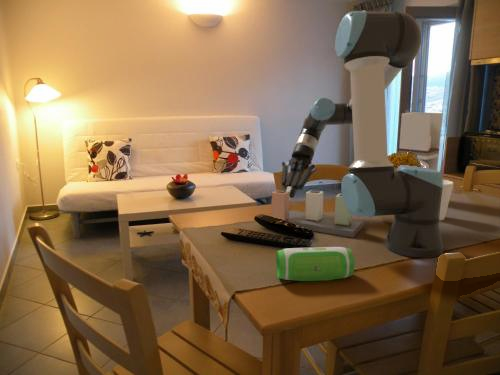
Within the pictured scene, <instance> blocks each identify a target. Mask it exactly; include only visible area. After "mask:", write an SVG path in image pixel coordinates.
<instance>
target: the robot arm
mask: <svg viewBox="0 0 500 375" xmlns="http://www.w3.org/2000/svg"><path fill="white" fill-rule="evenodd" d="M335 35H336V36H335V41H334V51H335V53H336V57H338V58H340V59H341V60H342V59H343V64H344V69H346V70H347V71H348V72H350V91H351V92H350V94H351V95H350V96H351V98H350V100H349V101H348V102H347V103H345V102H344V103H341V102H340V103H338V102H337V103H334V101H333V100H332V99H330V98H327V97H320V98H318V99H316V100H315V102H314V103H313V104H312V107H311V108H310V110H309V113H308V114H307V115H306V117H305V119H304V121H303V123H302V124H303V125H302V127H301V130H300V132H299V135H298V138H297V140H296V142H295V145H294V148H293V150H292V152H291V157H290V158H289V160H288V161H282V162H281V166H282V172H281V179H280V180H281V182H280V184H281V186H282V187H283V190H284V191H289V204H290V203H291V200H292V199H293V198H294V197H295V195H296V193H297V191H298V190H300V191H302V190H304V189H303V188H304V187H305V185H306V184H307V182H308V181H309V179H310V178H311V176H312V174H314V173H315V172H316V171H317V168H316V165H315V164H312V161H313V158H314V155H315V152H316V149H317V146H318V143H319V142H320V141H319V140H320V139H321V136H322V133H323V131H324V130H325V129H326V127H327V126H335V125H336V126H337V125H340V126H341V125H352V134H353V135H352V137H353V139H352V140H353V158H354V159H353V162H352V163H351V164H350V165H349V166H348V173H347V174H345V175H344V176H343V177H342V180H341V184H340V185H341V186H340V187H341V188H340V190H341V191H340V192H341V193H342V197H343V200H344V203H345V205H346V207H347V209H348V210H349V212H350V213H351V214H352V216H355V217H357V218H363V217H367V218H373V217H380V216H393V221H392V223H391V225H390V227H389V230H388V233H387V234H386V236H385V247H386V248H387V249H388V250H390V251H391V252H393V253H395V254H398V255H402V256H405V257H411V258H418V259H419V258H422V259H424V258H425V259H427V258H435V257H438V256H440V254H441V255H442V254H443V252H444V241H443V236H442V231H441V228H440V220H439V216H440V206H441V196H442V189H443V180H444V176H443V174H442V172H440V171H438V170H437V171H436V170H433V169H429V168H423V167H417V166H409V165H400V166H399V165H398V166H397V168H396V171H395V164H393V162H391V161H390V160H389V159H388V157H389V156H388V134H387V132H388V131H387V113H386V112H387V110H386V109H387V108H386V89H387V88H388V87H389V86H390V84H392V82H393V80H394V79H395V78H396V77H397V76H398V74H399V73H400V72H401V70H404V69H407V68H408V67H409V66H410V65H411V64H412V62H414V60H415V59H416V56H417V55H418V53H419V50H420V48H421V45H422V31H421V28H420V26H419V24H418V22H417V21H416V19H415V18H414V17H413V16H412V15H411V14H408V13H406V12H403V11H374V10H373V11H371V10H365V9H363V10H353V11H349V12H347V13H346V14H345V15H344V16H343V18H341V21H340V22H339V25H338V28H337V31H336V33H335ZM289 166H290V172H289ZM288 172H289V173H288Z"/></svg>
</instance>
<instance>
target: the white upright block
mask: <svg viewBox="0 0 500 375" xmlns="http://www.w3.org/2000/svg"><path fill="white" fill-rule="evenodd" d="M323 209H324V191H323V190H315V189H310V190H309V191H306V193H305V212H306V216H305V219H309V220H316V221H319V220H320V219H321V218H322V217H323V215H324V214H323V213H324V212H323V211H324V210H323Z"/></svg>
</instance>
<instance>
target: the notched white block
mask: <svg viewBox="0 0 500 375" xmlns="http://www.w3.org/2000/svg"><path fill="white" fill-rule="evenodd" d="M443 114H444V113H443V112H420V111H419V112H416V111H414V112H404V113H401V117H400V118H401V121H400V123H401V124H400V133H399V146H398V154H399V153H403V152H405V153H406V152H409V151H411V152H413V153H415V154H416V155H417V157H418V158H419V160H420V161H421V163H422V164H423V165H425V166H426V168H429V169H433V170H436V171H438V165H439V155H440V145H441V144H440V143H441V136H442V134H441V133H442V126H443Z"/></svg>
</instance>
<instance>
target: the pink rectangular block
mask: <svg viewBox="0 0 500 375" xmlns="http://www.w3.org/2000/svg"><path fill="white" fill-rule="evenodd" d="M289 210H290V203H289V191H284V189H283V190H281V189H276V190H273V191H272V192H271V214H272V217H274V218H278V219H282V220H286V219H287V218H289Z"/></svg>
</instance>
